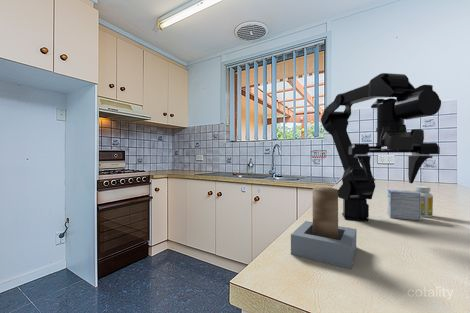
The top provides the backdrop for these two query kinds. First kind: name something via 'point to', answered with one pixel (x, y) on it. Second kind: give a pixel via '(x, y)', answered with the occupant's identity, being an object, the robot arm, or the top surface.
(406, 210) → the medicine box
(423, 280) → the top surface
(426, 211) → the supplement bottle
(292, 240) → the well
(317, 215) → the walnut cylinder
